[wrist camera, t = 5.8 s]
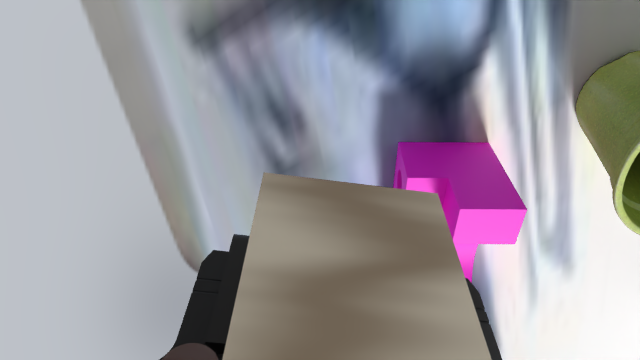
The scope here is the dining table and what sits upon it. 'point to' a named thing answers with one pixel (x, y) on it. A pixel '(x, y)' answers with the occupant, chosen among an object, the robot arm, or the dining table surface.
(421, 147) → the toy block
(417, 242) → the maple brick
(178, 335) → the robot arm
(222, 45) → the dining table surface
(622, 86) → the plant pot
